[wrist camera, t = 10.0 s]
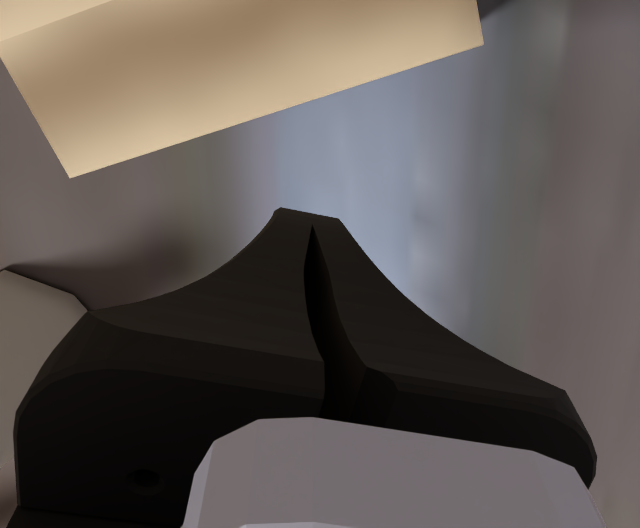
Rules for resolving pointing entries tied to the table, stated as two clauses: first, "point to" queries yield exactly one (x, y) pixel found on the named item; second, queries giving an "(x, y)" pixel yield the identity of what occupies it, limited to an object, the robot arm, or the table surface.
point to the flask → (27, 341)
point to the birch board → (205, 62)
